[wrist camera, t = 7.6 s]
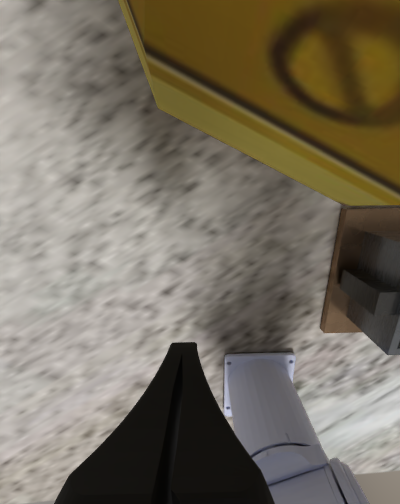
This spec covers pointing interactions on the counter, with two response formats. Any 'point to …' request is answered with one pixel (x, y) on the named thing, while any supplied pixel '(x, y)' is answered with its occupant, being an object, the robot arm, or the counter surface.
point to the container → (284, 84)
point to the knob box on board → (366, 277)
